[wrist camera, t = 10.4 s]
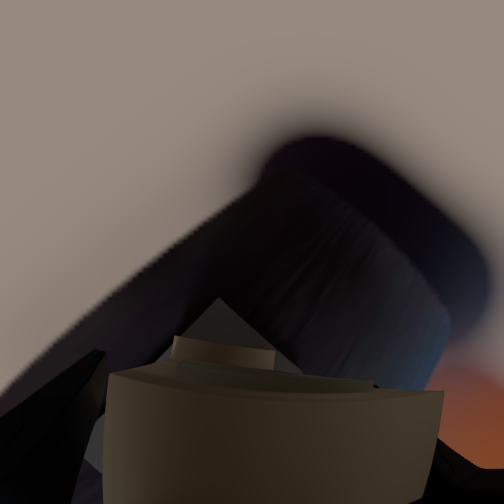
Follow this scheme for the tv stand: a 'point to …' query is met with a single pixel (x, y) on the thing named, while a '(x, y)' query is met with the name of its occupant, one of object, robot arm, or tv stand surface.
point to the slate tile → (211, 330)
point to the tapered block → (261, 433)
